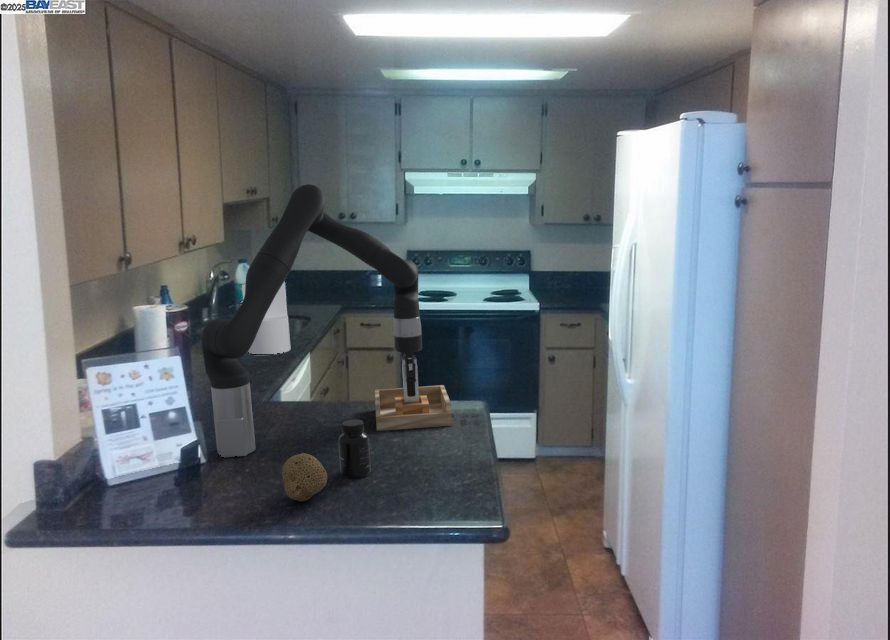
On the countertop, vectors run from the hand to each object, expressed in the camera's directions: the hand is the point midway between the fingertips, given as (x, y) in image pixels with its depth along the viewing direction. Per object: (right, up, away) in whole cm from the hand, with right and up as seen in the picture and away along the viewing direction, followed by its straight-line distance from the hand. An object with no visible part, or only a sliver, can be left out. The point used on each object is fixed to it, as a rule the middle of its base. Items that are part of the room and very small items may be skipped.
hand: (411, 393), depth 209 cm
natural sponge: (-19, -17, -53) cm, 59 cm away
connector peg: (0, -4, +1) cm, 4 cm away
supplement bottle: (-11, -14, -40) cm, 43 cm away
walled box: (0, -7, +1) cm, 7 cm away
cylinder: (-63, +8, +102) cm, 120 cm away
